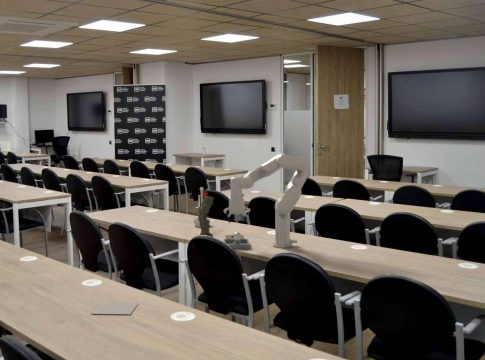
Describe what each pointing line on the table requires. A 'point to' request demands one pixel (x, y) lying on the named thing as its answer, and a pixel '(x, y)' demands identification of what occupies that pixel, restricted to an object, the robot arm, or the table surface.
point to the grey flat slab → (114, 308)
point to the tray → (243, 244)
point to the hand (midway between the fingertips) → (237, 222)
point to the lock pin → (236, 238)
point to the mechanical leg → (205, 215)
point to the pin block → (232, 237)
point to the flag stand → (201, 204)
